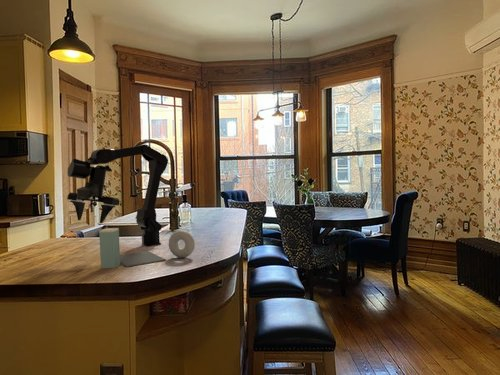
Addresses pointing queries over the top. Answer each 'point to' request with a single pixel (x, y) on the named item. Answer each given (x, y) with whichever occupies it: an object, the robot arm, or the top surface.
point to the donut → (186, 238)
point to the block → (109, 247)
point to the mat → (139, 259)
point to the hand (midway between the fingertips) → (90, 221)
